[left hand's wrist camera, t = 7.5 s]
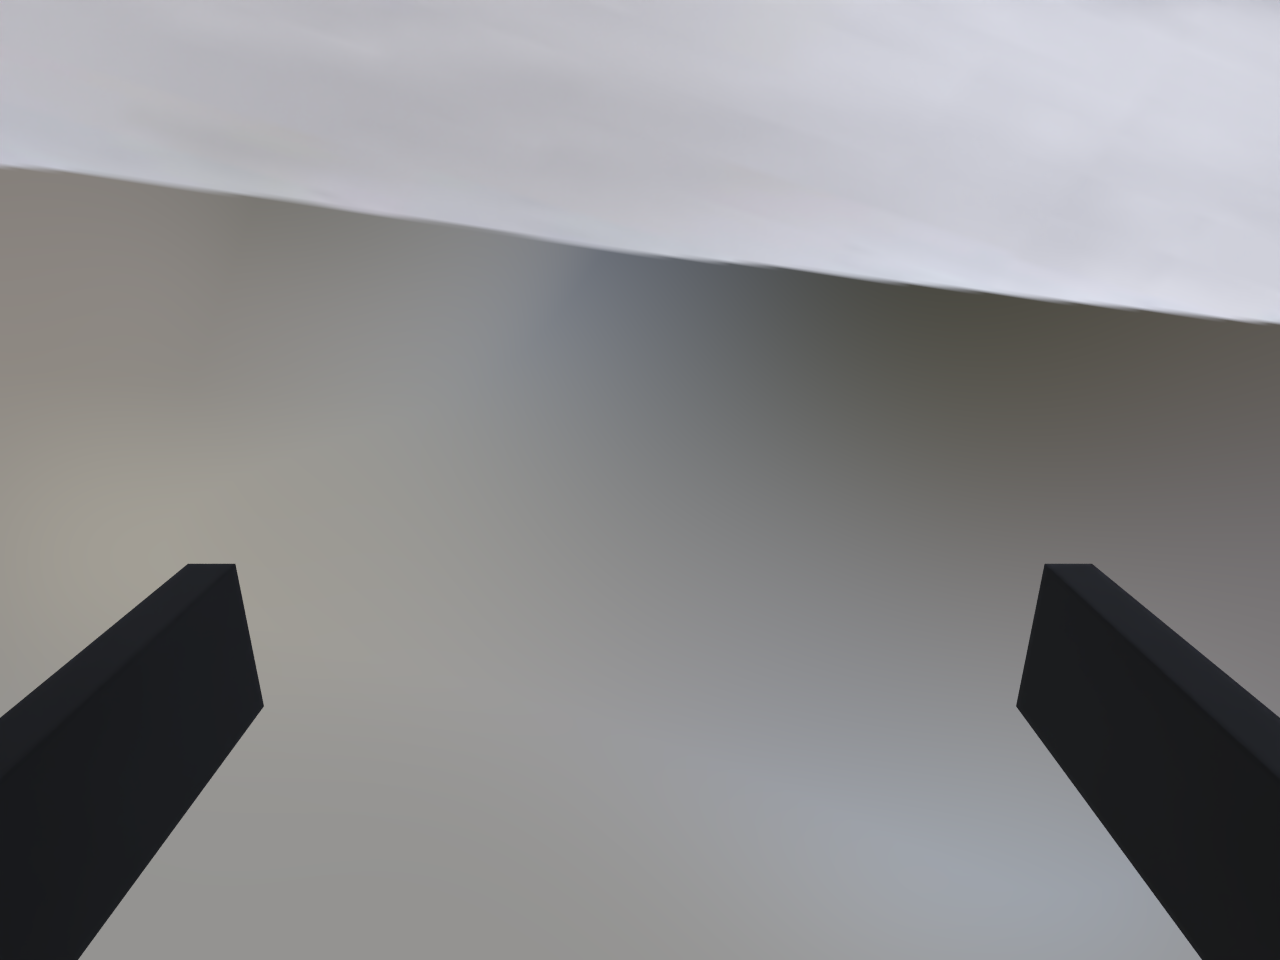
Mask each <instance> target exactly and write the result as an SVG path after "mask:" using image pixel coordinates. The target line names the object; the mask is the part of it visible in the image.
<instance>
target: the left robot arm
mask: <svg viewBox="0 0 1280 960" xmlns="http://www.w3.org/2000/svg"><path fill="white" fill-rule="evenodd" d="M263 707H264V705H263V700H262V695H261V690H260V685H259V680H258V675H257V670H256V665H255V660H254V655H253V650H252V645H251V640H250V635H249V630H248V625H247V620H246V615H245V610H244V605H243V600H242V595H241V590H240V585H239V580H238V575H237V570H236V565H235V564H187V565H186V566H185V567H184V568H182V569H181V570H180V571H179V572H178V573H176V574H175V575H174V576H173V577H171V578H170V579H169V580H168V581H167V582H165V583H164V584H163V585H162V586H161V587H159V588H158V589H157V590H156V591H154V592H153V593H152V594H151V595H150V596H148V597H147V598H146V599H145V600H143V601H142V602H141V603H140V604H139V605H137V606H136V607H135V608H134V609H132V610H131V611H130V612H129V613H128V614H126V615H125V616H124V617H123V618H121V619H120V620H119V621H118V622H117V623H115V624H114V625H113V626H112V627H110V628H109V629H108V630H107V631H106V632H104V633H103V634H102V635H101V636H99V637H98V638H97V639H96V640H95V641H93V642H92V643H91V644H90V645H89V646H87V647H86V648H85V649H84V650H82V651H81V652H80V653H79V654H78V655H76V656H75V657H74V658H73V659H71V660H70V661H69V662H68V663H67V664H65V665H64V666H63V667H62V668H60V669H59V670H58V671H57V672H56V673H54V674H53V675H52V676H51V677H50V678H48V679H47V680H46V681H45V682H43V683H42V684H41V685H40V686H39V687H37V688H36V689H35V690H34V691H32V692H31V693H30V694H29V695H28V696H26V697H25V698H24V699H23V700H21V701H20V702H19V703H18V704H17V705H15V706H14V707H13V708H12V709H11V710H9V711H8V712H7V713H6V714H4V715H3V716H2V717H1V718H0V960H78V959H79V958H80V956H81V955H82V953H83V952H84V951H85V949H86V948H87V947H88V945H89V944H90V942H91V941H92V940H93V938H94V937H95V936H96V934H97V933H98V932H99V930H100V929H101V927H102V926H103V925H104V923H105V922H106V921H107V919H108V918H109V917H110V915H111V914H112V913H113V911H114V910H115V908H116V907H117V906H118V904H119V903H120V902H121V900H122V899H123V897H124V896H125V895H126V893H127V892H128V891H129V889H130V888H131V887H132V885H133V884H134V883H135V881H136V880H137V878H138V877H139V876H140V874H141V873H142V872H143V870H144V869H145V867H146V866H147V865H148V863H149V862H150V861H151V859H152V858H153V857H154V855H155V854H156V853H157V851H158V850H159V848H160V847H161V846H162V844H163V843H164V842H165V840H166V839H167V838H168V836H169V835H170V833H171V832H172V831H173V829H174V828H175V827H176V825H177V824H178V823H179V821H180V820H181V818H182V817H183V816H184V814H185V813H186V812H187V810H188V809H189V808H190V806H191V805H192V803H193V802H194V801H195V799H196V798H197V797H198V795H199V794H200V792H201V791H202V790H203V788H204V787H205V786H206V784H207V783H208V782H209V780H210V779H211V778H212V776H213V775H214V773H215V772H216V771H217V769H218V768H219V767H220V765H221V764H222V763H223V761H224V760H225V758H226V757H227V756H228V754H229V753H230V752H231V750H232V749H233V748H234V746H235V745H236V743H237V742H238V741H239V739H240V738H241V737H242V735H243V734H244V733H245V731H246V730H247V728H248V727H249V726H250V724H251V723H252V722H253V720H254V719H255V718H256V716H257V715H258V713H259V712H260V711H261V709H262V708H263ZM1016 707H1017V708H1018V709H1019V711H1020V712H1021V713H1022V715H1023V716H1024V718H1025V719H1026V720H1027V722H1028V723H1029V724H1030V726H1031V727H1032V728H1033V730H1034V731H1035V733H1036V734H1037V735H1038V737H1039V738H1040V739H1041V741H1042V742H1043V743H1044V745H1045V746H1046V748H1047V749H1048V750H1049V752H1050V753H1051V754H1052V756H1053V757H1054V758H1055V760H1056V761H1057V763H1058V764H1059V765H1060V767H1061V768H1062V769H1063V771H1064V772H1065V773H1066V775H1067V776H1068V778H1069V779H1070V780H1071V782H1072V783H1073V784H1074V786H1075V787H1076V788H1077V790H1078V791H1079V793H1080V794H1081V795H1082V797H1083V798H1084V799H1085V801H1086V802H1087V803H1088V805H1089V806H1090V808H1091V809H1092V810H1093V812H1094V813H1095V814H1096V816H1097V817H1098V818H1099V820H1100V821H1101V823H1102V824H1103V825H1104V827H1105V828H1106V829H1107V831H1108V832H1109V833H1110V835H1111V836H1112V838H1113V839H1114V840H1115V842H1116V843H1117V844H1118V846H1119V847H1120V848H1121V850H1122V851H1123V853H1124V854H1125V855H1126V857H1127V858H1128V859H1129V861H1130V862H1131V863H1132V865H1133V866H1134V868H1135V869H1136V870H1137V872H1138V873H1139V874H1140V876H1141V877H1142V878H1143V880H1144V881H1145V882H1146V884H1147V885H1148V887H1149V888H1150V889H1151V891H1152V892H1153V893H1154V895H1155V896H1156V898H1157V899H1158V900H1159V902H1160V903H1161V904H1162V906H1163V907H1164V908H1165V910H1166V911H1167V913H1168V914H1169V915H1170V917H1171V918H1172V919H1173V921H1174V922H1175V923H1176V925H1177V926H1178V928H1179V929H1180V930H1181V932H1182V933H1183V934H1184V936H1185V937H1186V938H1187V940H1188V941H1189V943H1190V944H1191V945H1192V947H1193V948H1194V949H1195V951H1196V952H1197V953H1198V955H1199V956H1200V958H1201V959H1202V960H1280V718H1279V717H1278V716H1277V715H1276V714H1274V713H1273V712H1272V711H1271V710H1269V709H1268V708H1267V707H1266V706H1265V705H1263V704H1262V703H1261V702H1260V701H1258V700H1257V699H1256V698H1255V697H1254V696H1252V695H1251V694H1250V693H1249V692H1248V691H1246V690H1245V689H1244V688H1243V687H1241V686H1240V685H1239V684H1238V683H1237V682H1235V681H1234V680H1233V679H1232V678H1231V677H1229V676H1228V675H1227V674H1226V673H1224V672H1223V671H1222V670H1221V669H1220V668H1218V667H1217V666H1216V665H1215V664H1213V663H1212V662H1211V661H1210V660H1209V659H1207V658H1206V657H1205V656H1204V655H1202V654H1201V653H1200V652H1199V651H1198V650H1196V649H1195V648H1194V647H1193V646H1191V645H1190V644H1189V643H1188V642H1187V641H1185V640H1184V639H1183V638H1182V637H1181V636H1179V635H1178V634H1177V633H1176V632H1174V631H1173V630H1172V629H1171V628H1170V627H1168V626H1167V625H1166V624H1165V623H1163V622H1162V621H1161V620H1160V619H1159V618H1157V617H1156V616H1155V615H1154V614H1152V613H1151V612H1150V611H1149V610H1148V609H1146V608H1145V607H1144V606H1143V605H1141V604H1140V603H1139V602H1138V601H1137V600H1135V599H1134V598H1133V597H1132V596H1131V595H1129V594H1128V593H1127V592H1126V591H1124V590H1123V589H1122V588H1121V587H1119V586H1118V585H1117V584H1116V583H1115V582H1113V581H1112V580H1111V579H1110V578H1109V577H1107V576H1106V575H1105V574H1104V573H1102V572H1101V571H1100V570H1099V569H1098V568H1096V567H1095V566H1094V565H1093V564H1045V565H1044V570H1043V575H1042V580H1041V585H1040V590H1039V595H1038V600H1037V605H1036V610H1035V615H1034V620H1033V625H1032V630H1031V635H1030V640H1029V645H1028V650H1027V655H1026V660H1025V665H1024V670H1023V675H1022V680H1021V685H1020V690H1019V695H1018V700H1017V705H1016Z"/></svg>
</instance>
